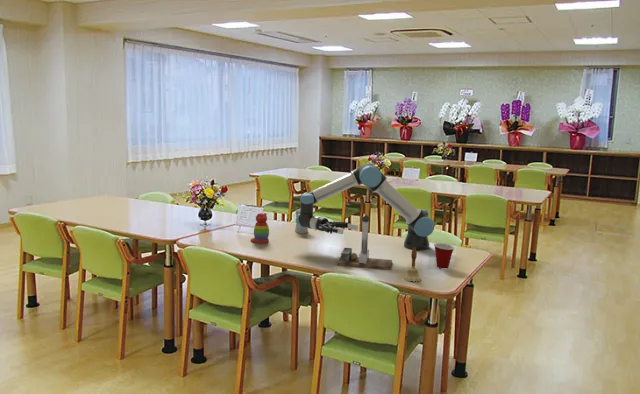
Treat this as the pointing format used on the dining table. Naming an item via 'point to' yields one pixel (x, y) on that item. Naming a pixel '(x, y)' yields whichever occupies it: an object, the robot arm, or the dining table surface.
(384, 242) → the dining table surface
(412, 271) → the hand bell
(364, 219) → the grey upright post
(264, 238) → the stacking bear
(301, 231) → the coffee maker
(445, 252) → the plastic cup
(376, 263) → the press base
